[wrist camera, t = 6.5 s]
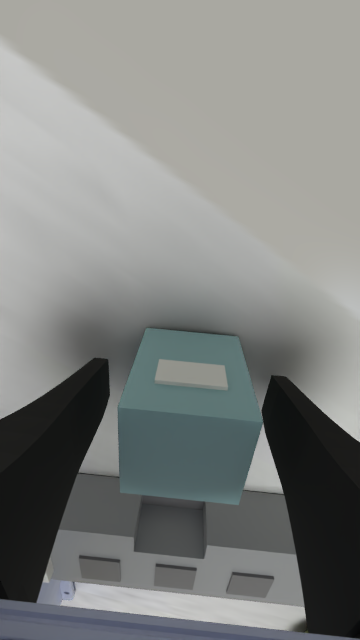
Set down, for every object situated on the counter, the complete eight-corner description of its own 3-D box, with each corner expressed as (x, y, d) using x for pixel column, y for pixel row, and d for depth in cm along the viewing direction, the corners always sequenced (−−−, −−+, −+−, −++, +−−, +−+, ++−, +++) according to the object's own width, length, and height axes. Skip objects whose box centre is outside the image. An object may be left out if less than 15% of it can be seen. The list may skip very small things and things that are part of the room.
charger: (220, 424, 15) (231, 528, 10) (143, 416, 15) (120, 516, 10) (238, 333, 12) (264, 418, 8) (146, 324, 12) (117, 403, 8)
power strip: (404, 559, 20) (448, 636, 16) (23, 518, 20) (-12, 585, 17) (446, 511, 17) (508, 591, 14) (7, 466, 18) (-38, 532, 14)
